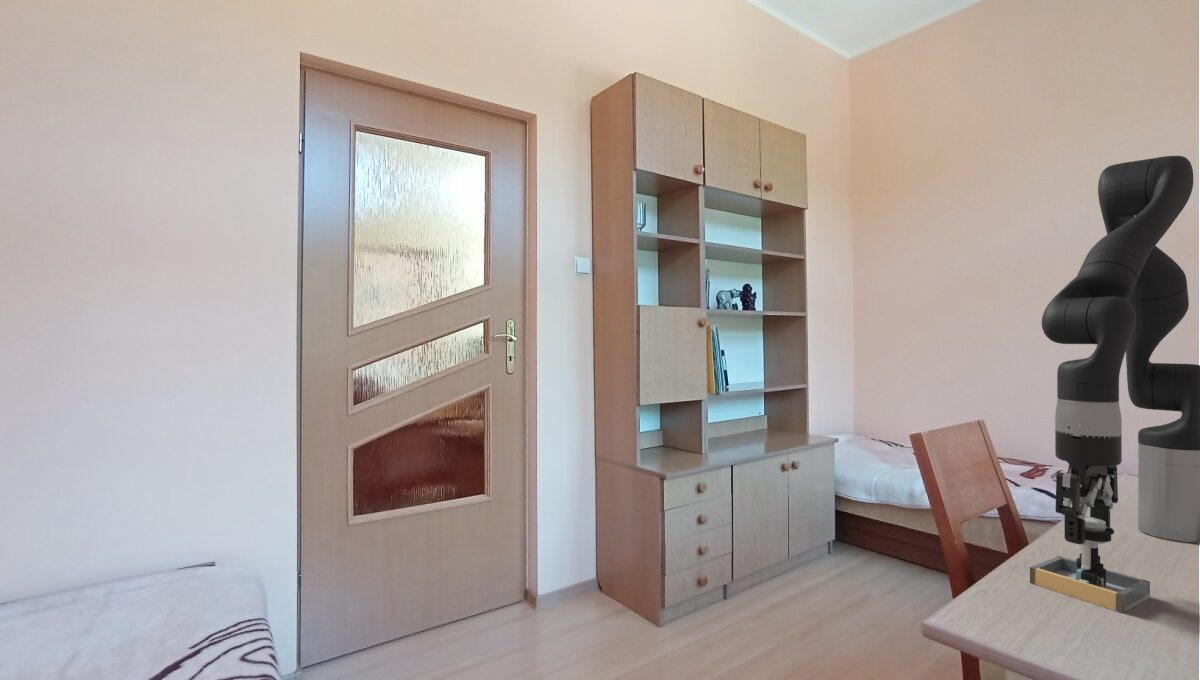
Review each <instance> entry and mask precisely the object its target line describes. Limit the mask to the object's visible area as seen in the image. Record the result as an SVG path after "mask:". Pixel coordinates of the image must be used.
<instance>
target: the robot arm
mask: <svg viewBox="0 0 1200 680" xmlns="http://www.w3.org/2000/svg"><path fill="white" fill-rule="evenodd" d="M1193 170H1194V169H1193V166H1192V163H1191V161H1190V160H1189V158H1187V157H1185V156H1183V155H1166V156H1165V155H1164V156H1158V157H1153V158H1148V159H1147V158H1146V159H1141V160H1133V161H1126V162H1121V163H1115V164H1111V165H1109V166H1106V167H1105V168H1104V169H1103V170H1102V172H1101V173H1100V175H1099V178H1098V185H1097V193H1098V194H1097V196H1098V202H1099V207H1100V208H1099V209H1100V212H1101V216H1102V219H1103V223H1104V228H1105V232H1106V235H1105V236H1104V237H1101V239H1099V240H1098V241H1097V242H1096V243H1095V244H1094V245H1093V246H1092V248H1090V249H1089V252H1088V253H1087V254H1086V257H1085V258H1084V261H1083V262H1082V265H1081V266H1080V269H1079V270H1078V273H1077V275H1076V276H1075V278H1073V279H1072V280H1071V281H1069V283H1067V284H1066V286H1064V287H1063V288H1062V289H1061V290H1060V291H1059V292H1058V293H1057V294H1056V295H1055V296H1054V297H1052V299H1051V300H1050V301H1049V302H1048V304H1047V306H1046V307H1045V309H1044V311H1043V314H1042V316H1041V328H1042V331H1043V334H1044V335H1045V337H1047V339H1048V340H1050V341H1051V342H1053V343H1055V344H1056V343H1057V344H1061V345H1096V348H1095V350H1094V351H1093V352H1092V354H1090V356H1088V357H1086V358H1079V359H1072V360H1066V361H1063V362H1061V363H1060V364H1059V365H1058V368H1057V371H1056V372H1057V373H1056V377H1057V378H1056V380H1057V382H1056V386H1057V387H1056V392H1057V393H1056V395H1057V398H1056V400H1057V401H1056V406H1055V407H1056V408H1055V412H1054V413H1055V414H1054V416H1055V417H1054V421H1055V422H1054V425H1055V427H1054V430H1055V431H1054V433H1055V434H1054V435H1055V438H1054V439H1055V440H1054V441H1055V443H1054V444H1055V445H1054V447H1055V450H1054V452H1055V453H1054V454H1055V457H1056V458H1057V459H1058V460H1060V461H1064V462H1067V463H1068V469H1067V472H1060V471H1057V473H1056V476H1055V478H1056V479H1055V480H1056V481H1055V513H1056V514H1061V516H1064V540H1065V541H1066V542H1069V543H1072V544H1074V545H1075V544H1076V545H1082V544H1084V543H1085V519H1084V518H1085V517H1086V514H1087V511H1088V508H1090V509H1089V511H1090V512H1089V514H1090V515H1089V517H1092V518H1097V519H1100V520H1103V521H1105V522H1106V526H1107V527H1110V528H1111V510H1112V509H1113V508H1114V504H1117V503H1118V502H1119V491H1118V490H1119V486H1118V466H1119V465H1121V463H1122V461H1123V460H1122V459H1123V458H1122V455H1123V454H1122V453H1123V452H1122V449H1123V447H1122V445H1123V444H1122V436H1123V435H1122V432H1123V430H1122V427H1123V426H1122V422H1123V421H1122V413H1121V412H1122V411H1121V408H1120V374H1121V369H1122V368H1121V367H1122V364H1123V362H1124V361H1123V360H1124V358H1125V362H1126V363H1125V364H1126V382H1127V391H1128V396H1129V397H1128V398H1129V399H1130V401H1131V403H1132V405H1133V406H1135V407H1136V408H1138V409H1139V408H1140V409H1146V410H1153V411H1154V410H1156V411H1167V412H1169V411H1170V412H1180V413H1181V416H1180V417H1179V418H1178V419H1176V420H1174V421H1171V422H1168V423H1166V424H1161V425H1154V426H1148V427H1144V428H1141V429H1139V430H1138V434H1137V442H1138V443H1137V444H1138V445H1137V447H1138V449H1137V450H1138V451H1137V452H1138V453H1137V459H1138V462H1137V463H1138V464H1137V466H1138V467H1137V469H1138V470H1137V473H1138V474H1137V475H1138V477H1137V478H1138V479H1137V480H1138V481H1137V483H1138V484H1137V486H1138V487H1137V492H1138V495H1137V497H1138V498H1137V503H1138V505H1137V520H1138V521H1137V529H1138V530H1139V532H1142V533H1144V534H1147V535H1150V536H1153V537H1155V538H1156V537H1157V538H1160V539H1161V538H1162V539H1166V540H1171V541H1177V542H1182V543H1200V364H1195V363H1169V362H1168V363H1167V362H1166V363H1163V362H1161V363H1160V362H1157V363H1156V362H1152V361H1150V358H1151V356H1152V354H1153V352H1154V351H1155V349H1156V348H1157V347H1158V346H1159V344H1160V343H1161V342H1162V341H1163V339H1164V338H1165V337H1166V336H1168V335H1169V334H1170V333H1171V332H1172V331H1173V330H1174V329H1175V327H1177V326H1178V324H1179V323H1180V322H1181V321H1182V320H1183V319H1184V318H1185V316H1186V313H1187V312H1188V310H1189V307H1190V306H1189V304H1190V303H1189V292H1188V290H1189V289H1188V280H1187V277H1186V276H1187V275H1186V274H1185V272H1184V270H1183V268H1182V267H1181V266H1180V265H1179V264H1178V263H1177V262H1176V261H1175V260H1174V259H1173V258H1172V257H1170V256H1169V255H1168V254H1167V253H1166V252H1164V251H1163V250H1162V249H1160V247H1158V246H1157V244H1158V243H1159V242H1160V240H1161V239H1162V238H1163V237H1164V235H1165V234H1166V233H1167V232H1168V230H1169V229H1170V227H1171V226H1172V225H1173V224H1174V222H1175V221H1176V219H1177V218H1178V216H1179V215H1180V214H1181V212H1182V211H1183V210H1184V208H1185V207H1186V205H1187V203H1188V201H1189V199H1190V197H1191V195H1192V192H1193V188H1194V171H1193Z"/></svg>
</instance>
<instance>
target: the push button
mask: <svg viewBox="0 0 1200 680" xmlns="http://www.w3.org/2000/svg"><path fill="white" fill-rule="evenodd" d="M1084 519H1085V543H1084V544H1081V548H1080V549H1081V552H1080V553H1079V558H1076V560H1075V561H1076V566H1077V569H1078V570H1077V572H1076V580H1079V581H1082V582H1085V583H1089V584H1092V585H1095V586H1099V587H1100V586H1101V587H1102V588H1104V587H1105V586H1106V569H1107V568H1104V563H1101V556H1100V555H1099V545H1102V544H1106V543H1109V542H1112V535H1114V534H1115V530H1114V529H1113V528H1112V527H1111V526H1110V527H1107V526H1106V522H1105V521H1103V520H1100V519H1097V518H1092V517H1090V516H1085V518H1084Z"/></svg>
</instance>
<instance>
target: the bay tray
mask: <svg viewBox="0 0 1200 680" xmlns="http://www.w3.org/2000/svg"><path fill="white" fill-rule="evenodd" d="M1105 569H1106V586H1105V587H1104V588H1102V587H1101V586H1100V587H1099V586H1095V585H1092V584H1089V583H1085V582H1082V581H1079V580H1076V572H1077V570H1078V569H1077V566H1076V560H1074V559H1071V558H1068V557H1064V556H1060V555H1058V556H1055V557H1054V558H1050V559H1047V560H1045V561H1042V562H1039V563H1036V564H1035V565H1032V566H1030V567H1029V583H1030V584H1033V585H1035V586H1039V587H1041V588H1043V589H1044V588H1046V589H1048V590H1050V591H1053V592H1057V593H1059V594H1063V595H1067V596H1069V597H1073V598H1075V599H1079V600H1082V601H1085V602H1088V603H1091V604H1093V605H1096V606H1099V607H1103V608H1106V609H1108V610H1112V611H1115V612H1118V613H1120V614H1121V613H1122V614H1123V613H1126V612H1128V611H1129V610H1132V609H1133V608H1135V607H1136V606H1138V605H1140V604H1142V603H1143V602H1145V601H1147V600H1149V599H1150V597H1151V585H1150V584H1151V581H1150V580H1146V579H1143V578H1138V577H1135V576H1131V575H1127V574H1125V573H1122V572H1117V571H1114V570H1110V569H1107V568H1105Z"/></svg>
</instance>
